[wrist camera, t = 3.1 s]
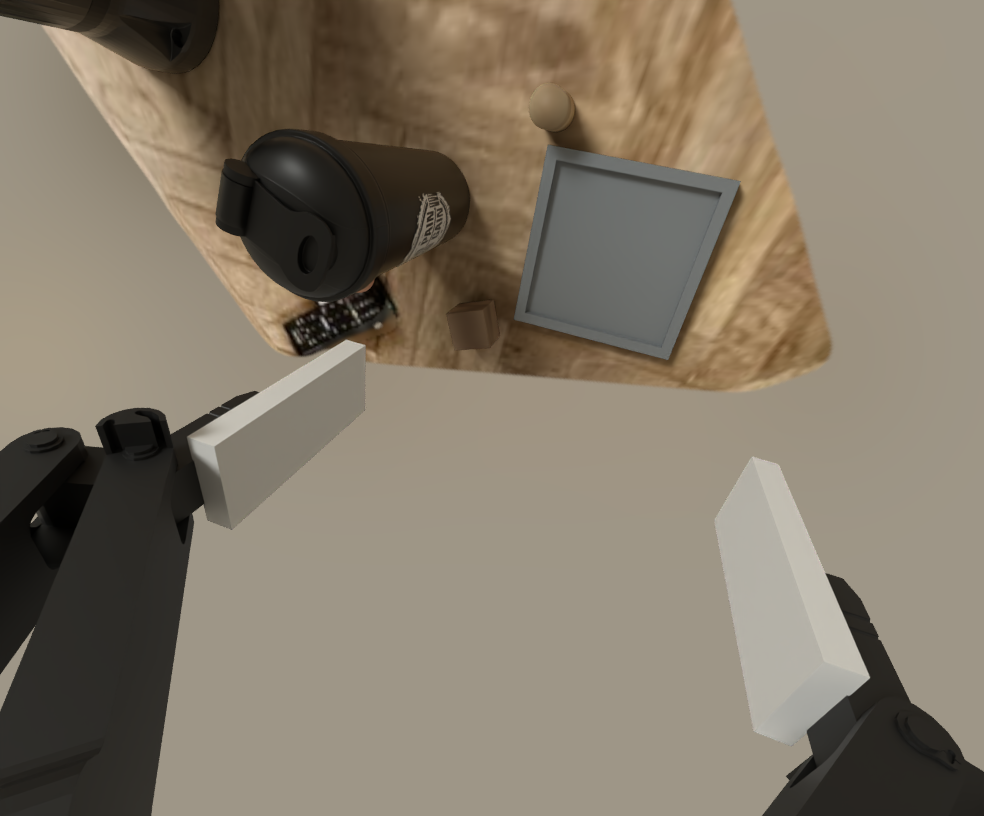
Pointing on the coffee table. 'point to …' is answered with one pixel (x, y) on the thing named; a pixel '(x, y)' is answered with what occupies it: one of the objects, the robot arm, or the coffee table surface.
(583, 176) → the tray
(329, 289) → the water bottle
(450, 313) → the walnut cube
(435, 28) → the coffee table surface
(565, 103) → the cylinder
